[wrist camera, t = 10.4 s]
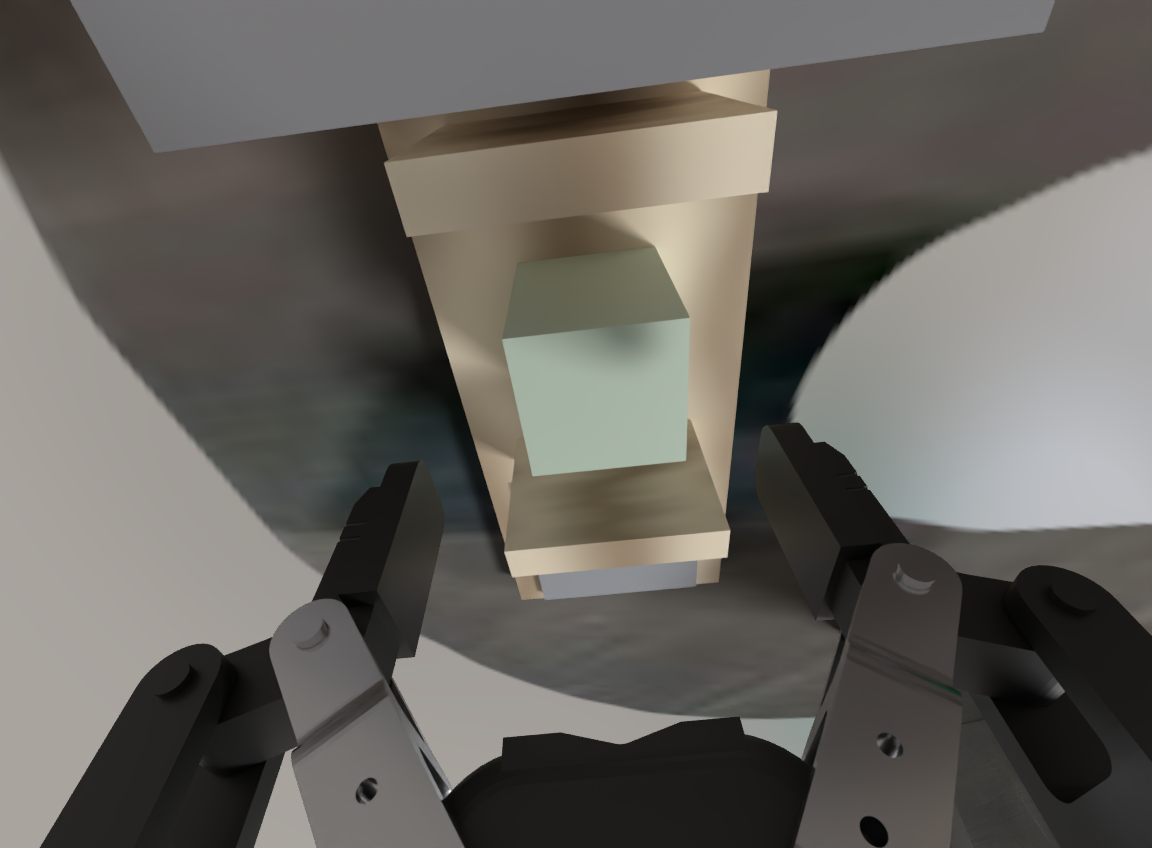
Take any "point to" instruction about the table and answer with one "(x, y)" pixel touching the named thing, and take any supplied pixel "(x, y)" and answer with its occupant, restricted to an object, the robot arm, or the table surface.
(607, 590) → the slate pad
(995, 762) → the coffeepot
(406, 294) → the table surface
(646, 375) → the sage block
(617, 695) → the table surface
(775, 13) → the slide cover
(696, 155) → the puzzle board
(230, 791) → the robot arm
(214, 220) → the table surface
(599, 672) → the table surface
